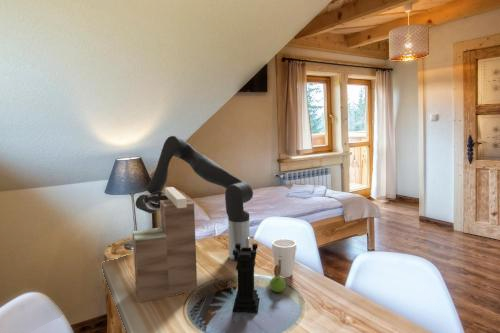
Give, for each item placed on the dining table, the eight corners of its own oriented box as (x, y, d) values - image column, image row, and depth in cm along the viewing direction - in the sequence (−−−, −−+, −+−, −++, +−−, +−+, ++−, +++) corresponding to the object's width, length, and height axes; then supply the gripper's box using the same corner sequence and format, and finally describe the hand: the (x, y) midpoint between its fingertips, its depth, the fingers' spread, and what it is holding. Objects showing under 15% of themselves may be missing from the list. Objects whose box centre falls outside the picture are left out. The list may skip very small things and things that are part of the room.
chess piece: (259, 300, 118) (258, 243, 115) (257, 313, 110) (256, 252, 107) (236, 299, 119) (234, 242, 116) (232, 312, 111) (231, 251, 108)
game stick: (165, 195, 134) (165, 187, 134) (173, 194, 136) (173, 186, 135) (177, 208, 114) (177, 199, 114) (186, 207, 116) (186, 198, 115)
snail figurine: (287, 287, 126) (287, 256, 125) (283, 296, 120) (283, 263, 119) (273, 285, 128) (273, 254, 126) (268, 293, 122) (268, 261, 120)
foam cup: (269, 278, 134) (269, 245, 132) (275, 268, 143) (275, 237, 141) (293, 281, 131) (293, 248, 129) (298, 271, 139) (298, 240, 138)
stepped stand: (136, 289, 126) (130, 203, 122) (190, 279, 134) (187, 197, 130) (139, 302, 117) (133, 210, 113) (197, 290, 125) (194, 203, 121)
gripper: (138, 194, 153) (147, 189, 139) (170, 190, 160) (181, 186, 146) (140, 211, 152) (149, 207, 138) (172, 207, 159) (183, 203, 145)
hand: (165, 196), depth 142 cm, fingers open, 8 cm apart
